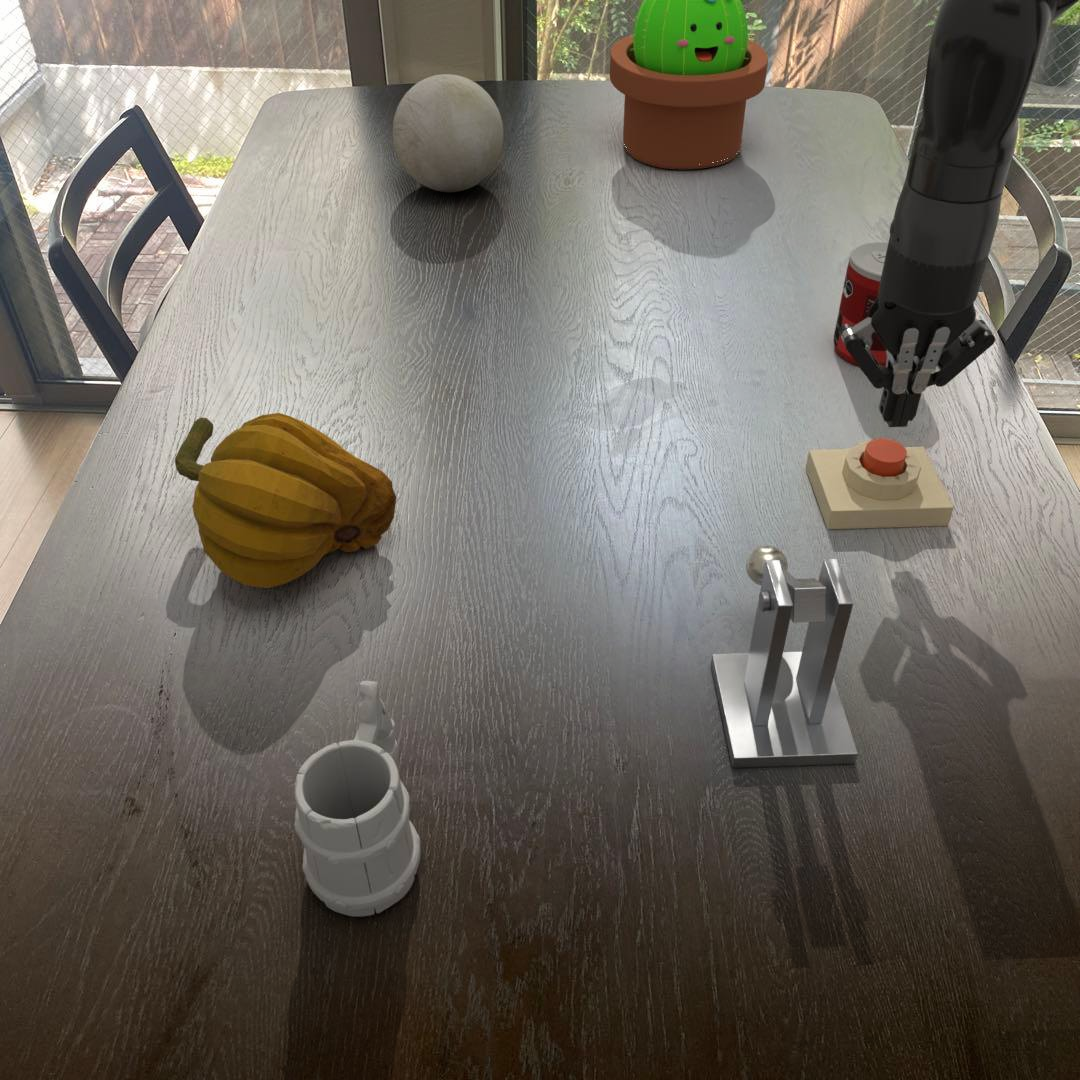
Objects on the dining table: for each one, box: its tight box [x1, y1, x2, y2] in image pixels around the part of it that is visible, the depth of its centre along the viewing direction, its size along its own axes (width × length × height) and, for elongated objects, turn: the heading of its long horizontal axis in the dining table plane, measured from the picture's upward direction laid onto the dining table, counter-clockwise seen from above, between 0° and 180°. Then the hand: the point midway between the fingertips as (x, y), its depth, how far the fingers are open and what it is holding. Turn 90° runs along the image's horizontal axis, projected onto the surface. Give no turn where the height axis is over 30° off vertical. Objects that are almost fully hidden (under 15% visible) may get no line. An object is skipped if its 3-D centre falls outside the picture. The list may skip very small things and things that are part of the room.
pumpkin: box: [174, 412, 397, 589], centre depth 91 cm, size 14×16×20 cm
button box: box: [805, 440, 955, 530], centre depth 99 cm, size 11×9×4 cm
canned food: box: [833, 241, 889, 367], centre depth 116 cm, size 8×8×11 cm
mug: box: [293, 680, 421, 918], centre depth 70 cm, size 8×12×12 cm, turn 172°
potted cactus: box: [609, 0, 769, 171], centre depth 153 cm, size 22×22×25 cm
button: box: [862, 437, 907, 477], centre depth 98 cm, size 4×4×2 cm
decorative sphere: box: [392, 73, 505, 193], centre depth 147 cm, size 15×15×15 cm
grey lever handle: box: [745, 545, 826, 624], centre depth 79 cm, size 14×3×3 cm
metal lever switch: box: [710, 557, 859, 769], centre depth 77 cm, size 10×9×14 cm
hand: (895, 421), depth 95 cm, fingers closed
